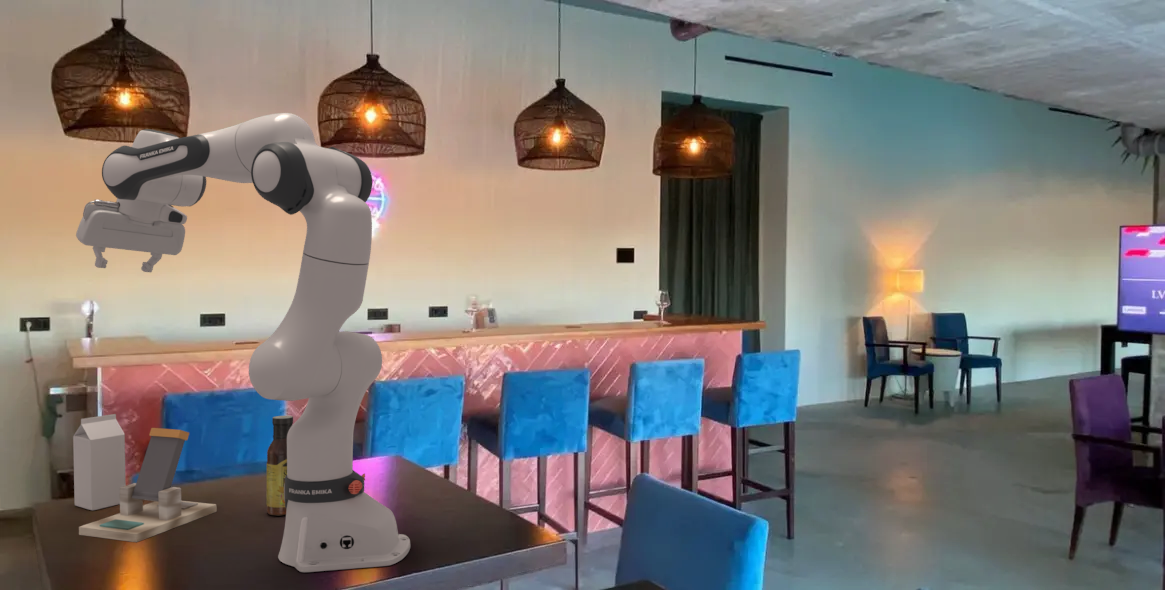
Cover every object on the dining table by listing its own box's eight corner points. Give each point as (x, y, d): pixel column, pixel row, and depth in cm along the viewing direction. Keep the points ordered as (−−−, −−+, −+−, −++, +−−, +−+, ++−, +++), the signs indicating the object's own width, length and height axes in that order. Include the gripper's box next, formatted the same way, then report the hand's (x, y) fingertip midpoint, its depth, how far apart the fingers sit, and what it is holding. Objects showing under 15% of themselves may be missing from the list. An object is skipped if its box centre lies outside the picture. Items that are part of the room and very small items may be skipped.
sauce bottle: (288, 518, 165) (286, 420, 164) (260, 516, 166) (258, 419, 165) (305, 508, 171) (304, 414, 171) (278, 506, 172) (277, 413, 172)
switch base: (163, 505, 174) (162, 472, 173) (216, 511, 169) (216, 478, 169) (79, 534, 155) (78, 498, 154) (136, 542, 150) (135, 504, 150)
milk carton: (126, 503, 175) (124, 415, 175) (91, 511, 169) (89, 420, 169) (108, 498, 179) (106, 412, 179) (74, 506, 173) (72, 417, 173)
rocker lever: (139, 499, 164) (161, 430, 169) (168, 502, 161) (189, 432, 166) (129, 497, 161) (151, 427, 166) (158, 500, 159) (180, 429, 164)
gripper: (94, 202, 157) (77, 269, 159) (194, 218, 174) (177, 278, 176) (80, 193, 160) (63, 259, 162) (179, 209, 177) (163, 268, 179)
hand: (123, 269), depth 169 cm, fingers open, 8 cm apart
